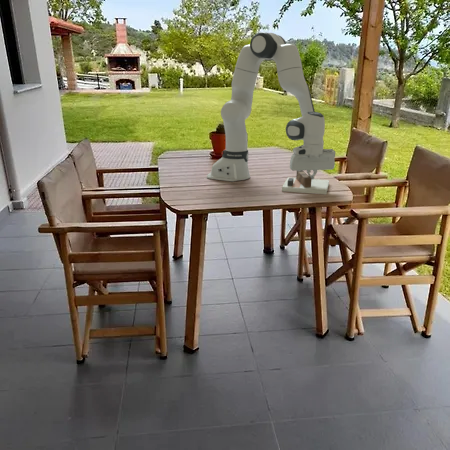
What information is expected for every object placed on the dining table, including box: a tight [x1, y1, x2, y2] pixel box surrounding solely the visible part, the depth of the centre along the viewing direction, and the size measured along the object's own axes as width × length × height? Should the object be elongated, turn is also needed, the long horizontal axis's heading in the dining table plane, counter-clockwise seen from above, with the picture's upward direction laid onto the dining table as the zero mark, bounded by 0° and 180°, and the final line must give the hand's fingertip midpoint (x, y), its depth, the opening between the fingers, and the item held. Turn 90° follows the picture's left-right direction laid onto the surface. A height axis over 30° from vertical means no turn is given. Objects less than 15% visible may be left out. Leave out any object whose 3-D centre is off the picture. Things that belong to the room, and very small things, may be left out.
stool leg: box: [295, 170, 312, 187], centre depth 192 cm, size 17×3×4 cm, turn 4°
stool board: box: [281, 176, 330, 195], centre depth 191 cm, size 20×18×4 cm
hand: (311, 179), depth 188 cm, fingers closed
